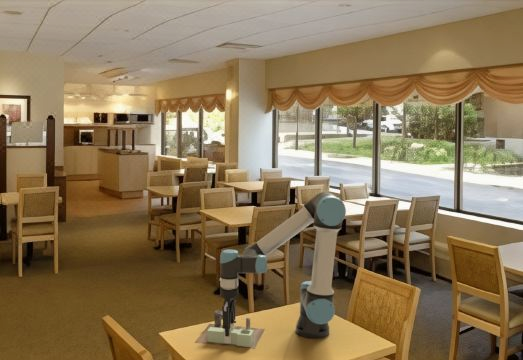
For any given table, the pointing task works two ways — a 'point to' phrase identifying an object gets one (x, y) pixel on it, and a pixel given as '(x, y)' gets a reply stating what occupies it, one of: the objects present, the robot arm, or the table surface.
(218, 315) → the pintle board
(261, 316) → the table surface
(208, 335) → the link
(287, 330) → the table surface
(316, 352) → the table surface
